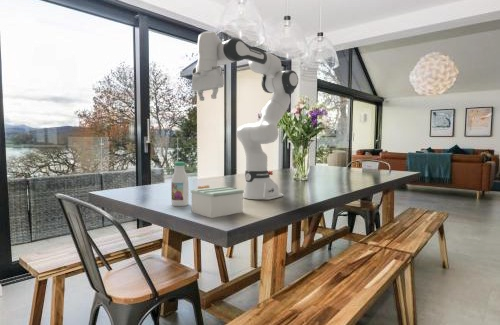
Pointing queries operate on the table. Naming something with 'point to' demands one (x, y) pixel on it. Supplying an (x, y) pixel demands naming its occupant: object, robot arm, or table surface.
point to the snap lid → (216, 191)
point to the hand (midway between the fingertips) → (207, 99)
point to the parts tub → (217, 205)
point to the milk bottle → (179, 186)
